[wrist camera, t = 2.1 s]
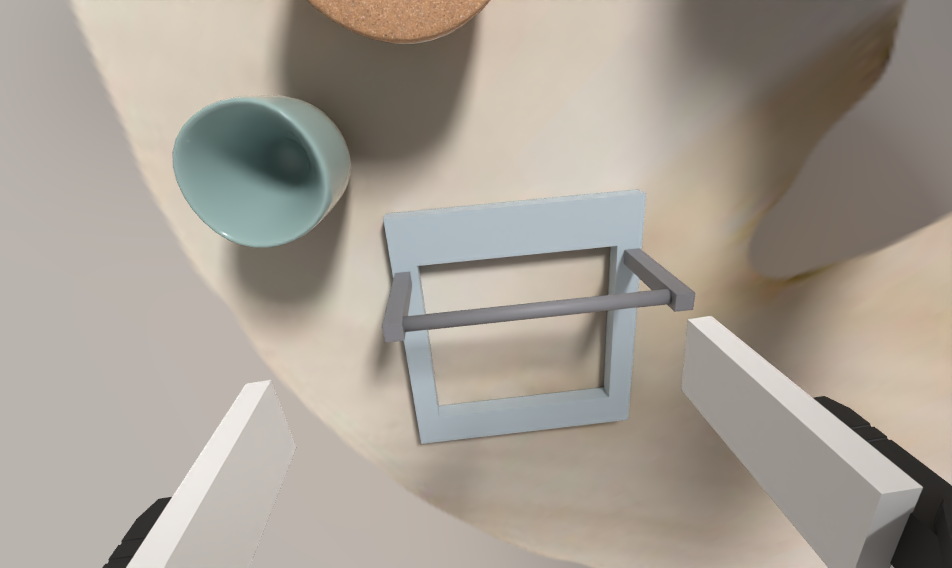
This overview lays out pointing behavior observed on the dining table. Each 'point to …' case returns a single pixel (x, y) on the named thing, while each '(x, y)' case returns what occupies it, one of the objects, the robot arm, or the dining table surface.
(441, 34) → the lidded bowl
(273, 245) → the cup
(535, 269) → the dining table surface
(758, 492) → the dining table surface
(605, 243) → the towel rail frame
